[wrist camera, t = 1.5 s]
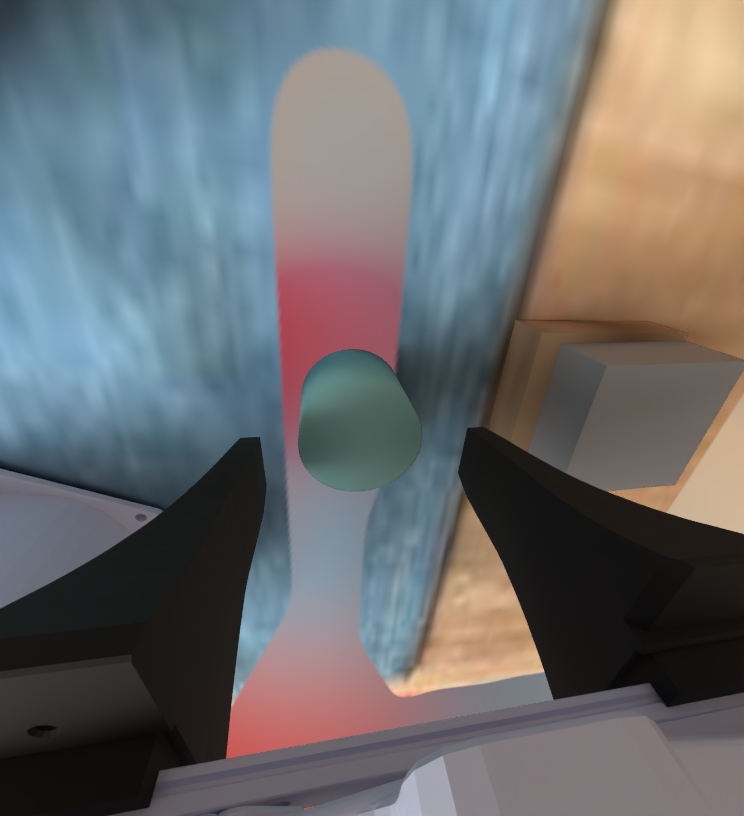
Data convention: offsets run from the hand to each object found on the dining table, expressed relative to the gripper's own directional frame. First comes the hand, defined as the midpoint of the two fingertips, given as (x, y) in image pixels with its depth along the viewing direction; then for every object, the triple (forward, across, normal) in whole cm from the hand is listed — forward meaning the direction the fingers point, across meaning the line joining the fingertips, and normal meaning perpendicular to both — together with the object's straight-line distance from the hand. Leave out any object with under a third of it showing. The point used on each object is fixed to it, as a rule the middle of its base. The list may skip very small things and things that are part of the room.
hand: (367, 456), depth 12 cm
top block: (+3, -11, 0) cm, 12 cm away
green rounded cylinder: (+5, 0, 0) cm, 5 cm away
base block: (+5, -11, 0) cm, 12 cm away
